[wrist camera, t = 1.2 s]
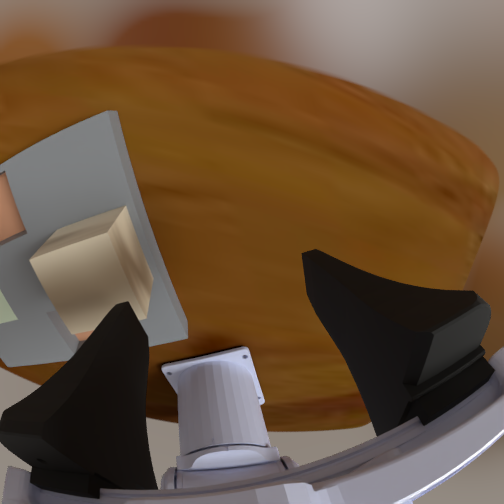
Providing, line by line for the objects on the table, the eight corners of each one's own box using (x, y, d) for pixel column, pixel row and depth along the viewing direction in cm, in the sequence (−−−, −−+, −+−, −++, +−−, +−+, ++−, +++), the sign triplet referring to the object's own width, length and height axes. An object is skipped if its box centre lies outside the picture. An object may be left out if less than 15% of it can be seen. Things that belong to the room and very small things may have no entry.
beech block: (153, 278, 18) (146, 318, 14) (88, 295, 17) (71, 334, 14) (125, 205, 15) (107, 232, 12) (57, 229, 15) (28, 259, 11)
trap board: (187, 320, 22) (187, 338, 20) (14, 353, 20) (7, 367, 19) (117, 111, 14) (107, 110, 13) (-61, 213, 13) (-74, 222, 11)
